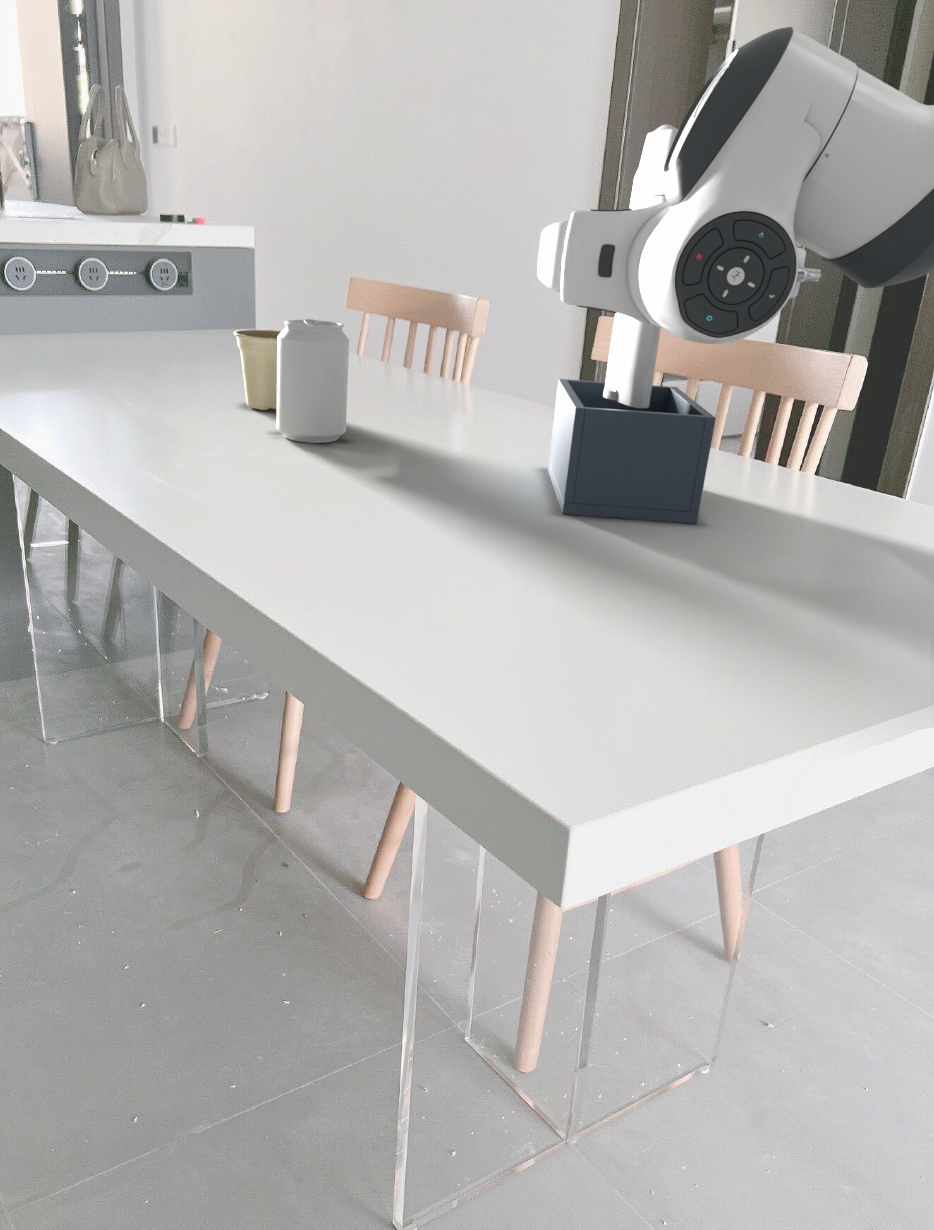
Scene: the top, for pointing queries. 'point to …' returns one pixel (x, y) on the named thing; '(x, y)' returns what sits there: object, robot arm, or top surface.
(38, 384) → the top surface
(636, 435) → the bin
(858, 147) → the robot arm
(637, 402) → the tall pale column
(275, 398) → the flower pot
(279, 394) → the can
